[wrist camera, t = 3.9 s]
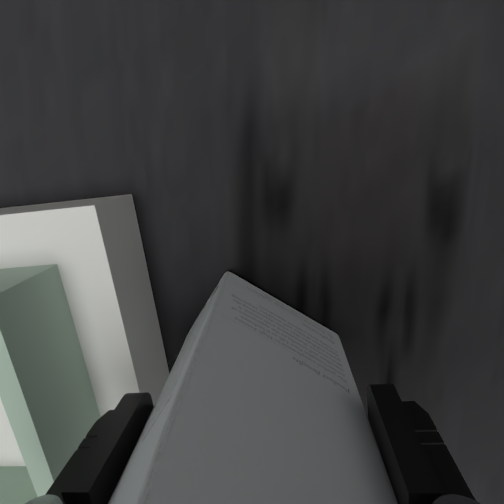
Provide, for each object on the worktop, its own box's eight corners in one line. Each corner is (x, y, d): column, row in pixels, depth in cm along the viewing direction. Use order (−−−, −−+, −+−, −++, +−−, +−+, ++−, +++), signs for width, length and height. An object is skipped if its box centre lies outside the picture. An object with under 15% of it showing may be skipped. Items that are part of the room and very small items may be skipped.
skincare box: (184, 337, 16) (-56, 794, 5) (230, 261, 15) (49, 637, 4) (295, 399, 17) (319, 953, 5) (349, 330, 15) (538, 866, 4)
